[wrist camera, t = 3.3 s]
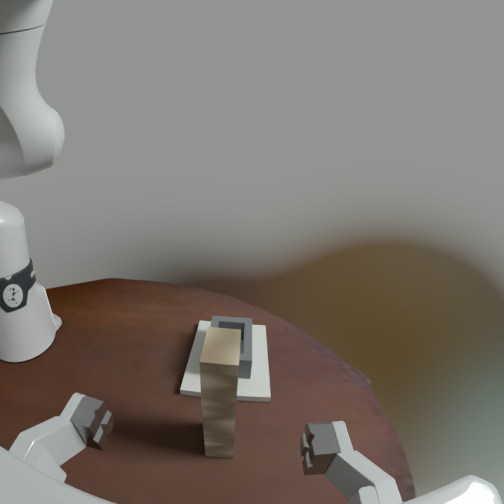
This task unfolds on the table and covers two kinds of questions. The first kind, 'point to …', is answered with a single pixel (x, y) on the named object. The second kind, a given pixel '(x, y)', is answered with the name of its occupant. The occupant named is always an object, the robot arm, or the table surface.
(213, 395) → the slat
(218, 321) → the stand
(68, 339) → the table surface
